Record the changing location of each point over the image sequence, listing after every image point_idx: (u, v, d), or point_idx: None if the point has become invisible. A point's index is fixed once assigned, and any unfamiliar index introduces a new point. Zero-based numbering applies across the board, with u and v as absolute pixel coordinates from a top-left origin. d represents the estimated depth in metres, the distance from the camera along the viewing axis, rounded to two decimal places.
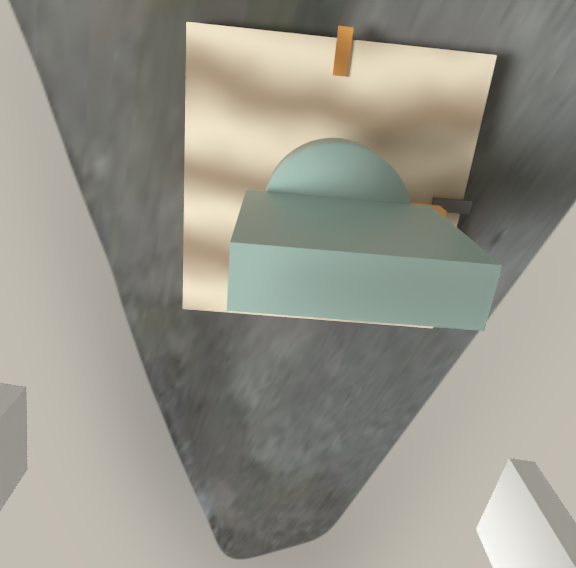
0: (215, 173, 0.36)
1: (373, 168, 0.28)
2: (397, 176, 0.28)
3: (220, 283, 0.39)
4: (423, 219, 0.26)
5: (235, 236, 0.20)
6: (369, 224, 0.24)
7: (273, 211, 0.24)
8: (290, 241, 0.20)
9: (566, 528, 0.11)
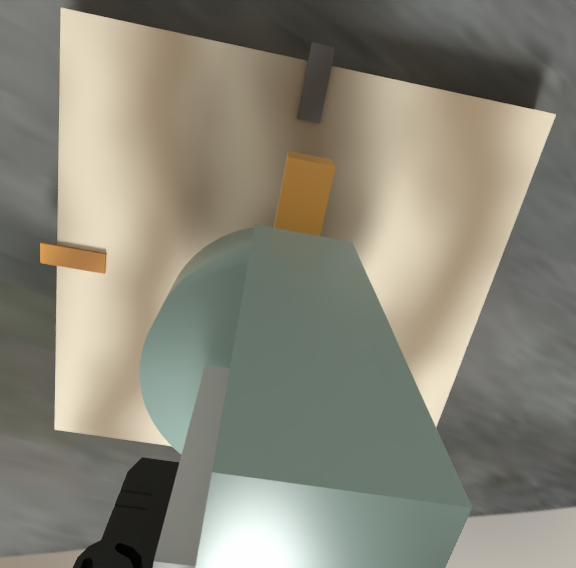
0: None
1: (177, 324, 0.16)
2: (193, 286, 0.15)
3: None
4: None
5: None
6: None
7: None
8: None
9: None
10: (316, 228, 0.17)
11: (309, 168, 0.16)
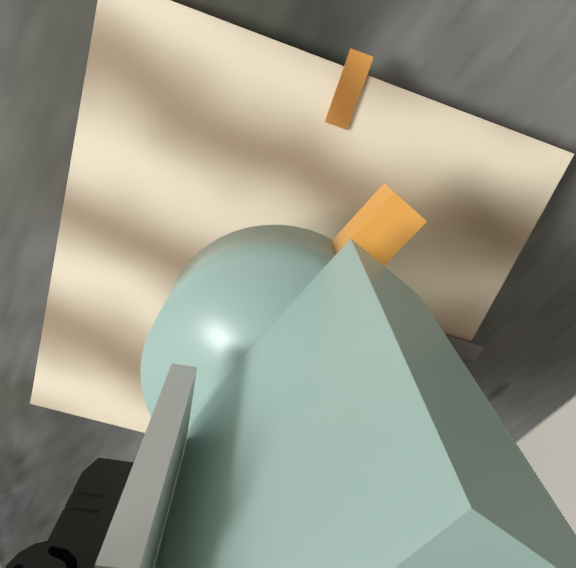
0: (112, 225, 0.23)
1: (224, 290, 0.15)
2: (261, 263, 0.15)
3: (93, 380, 0.26)
4: (330, 323, 0.12)
5: None
6: (242, 464, 0.11)
7: None
8: None
9: None
10: None
11: (405, 210, 0.17)
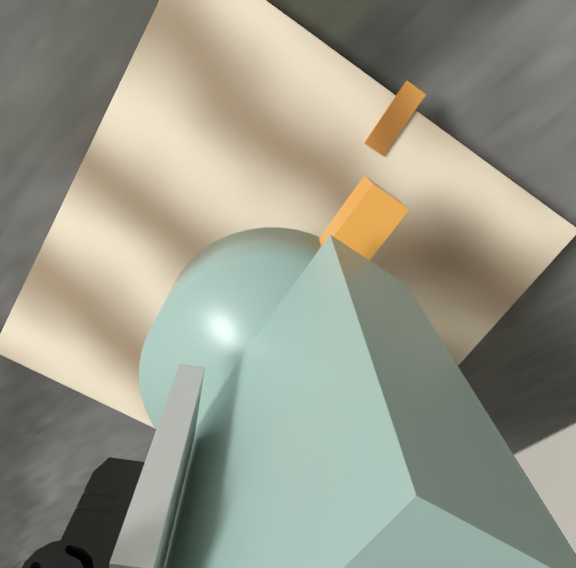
0: (128, 190, 0.22)
1: (211, 298, 0.15)
2: (244, 268, 0.15)
3: (66, 340, 0.25)
4: (309, 321, 0.12)
5: None
6: (232, 468, 0.11)
7: None
8: None
9: None
10: (366, 257, 0.17)
11: (385, 201, 0.17)
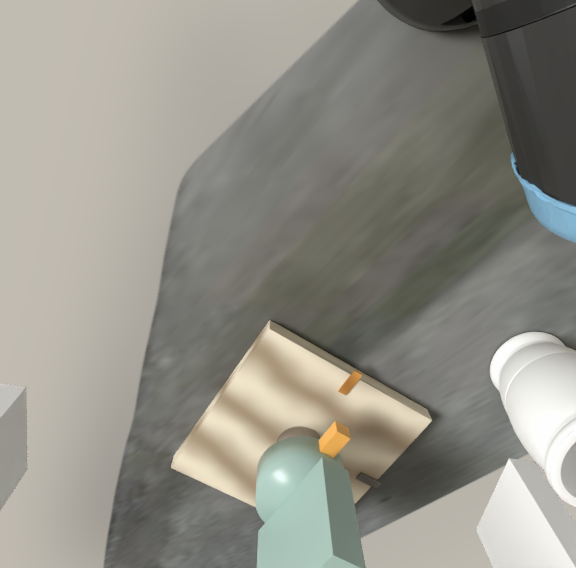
0: (239, 407, 0.52)
1: (282, 475, 0.46)
2: (293, 467, 0.45)
3: (204, 463, 0.55)
4: (315, 496, 0.42)
5: None
6: (295, 539, 0.41)
7: (266, 563, 0.43)
8: None
9: (566, 528, 0.11)
10: (335, 453, 0.47)
11: (342, 436, 0.47)
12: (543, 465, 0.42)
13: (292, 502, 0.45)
